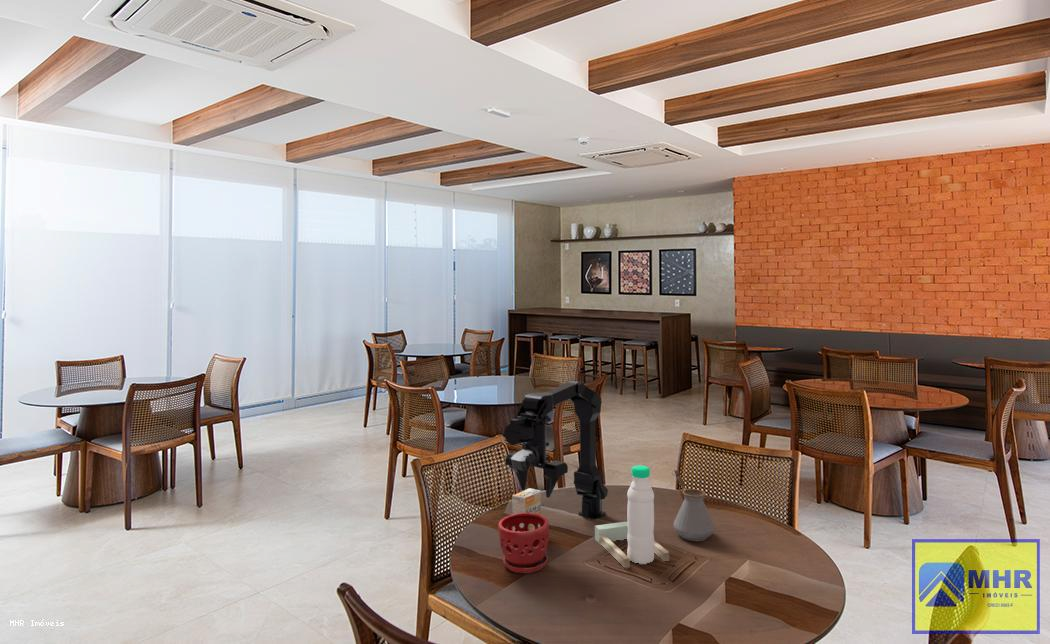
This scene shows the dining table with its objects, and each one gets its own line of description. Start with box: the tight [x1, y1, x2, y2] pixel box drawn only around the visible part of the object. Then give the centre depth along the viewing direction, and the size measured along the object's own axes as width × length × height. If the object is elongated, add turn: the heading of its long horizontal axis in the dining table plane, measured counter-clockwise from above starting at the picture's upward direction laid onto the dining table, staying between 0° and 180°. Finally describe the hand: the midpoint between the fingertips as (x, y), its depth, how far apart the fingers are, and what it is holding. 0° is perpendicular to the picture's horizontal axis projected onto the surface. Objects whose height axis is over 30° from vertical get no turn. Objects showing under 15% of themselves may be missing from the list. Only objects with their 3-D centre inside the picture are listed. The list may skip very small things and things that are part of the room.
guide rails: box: [598, 534, 670, 568], centre depth 164 cm, size 16×13×2 cm
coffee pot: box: [671, 469, 715, 542], centre depth 179 cm, size 21×12×15 cm, turn 6°
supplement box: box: [511, 487, 542, 532], centre depth 175 cm, size 8×5×13 cm, turn 143°
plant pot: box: [498, 513, 550, 574], centre depth 156 cm, size 13×13×12 cm
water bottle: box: [626, 464, 655, 565], centre depth 159 cm, size 7×7×25 cm
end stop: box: [594, 521, 628, 544], centre depth 173 cm, size 3×13×4 cm, turn 107°
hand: (535, 493), depth 169 cm, fingers open, 9 cm apart
